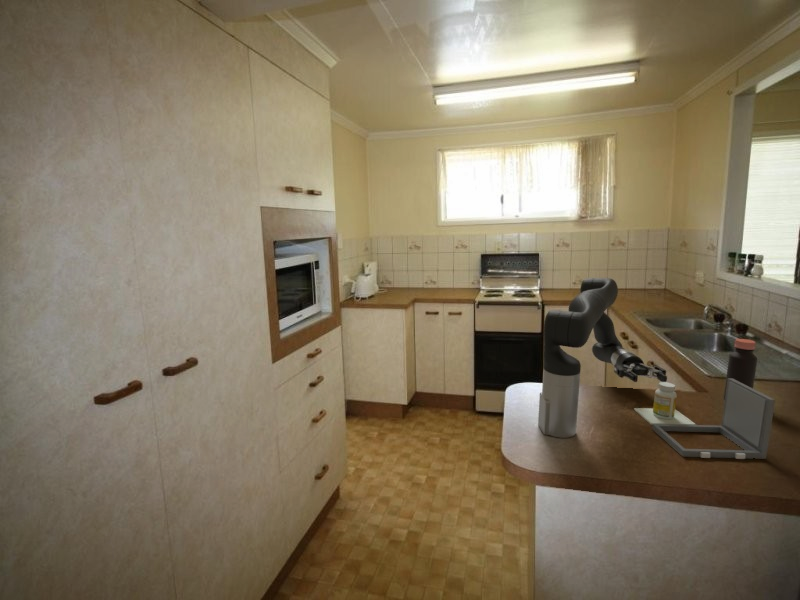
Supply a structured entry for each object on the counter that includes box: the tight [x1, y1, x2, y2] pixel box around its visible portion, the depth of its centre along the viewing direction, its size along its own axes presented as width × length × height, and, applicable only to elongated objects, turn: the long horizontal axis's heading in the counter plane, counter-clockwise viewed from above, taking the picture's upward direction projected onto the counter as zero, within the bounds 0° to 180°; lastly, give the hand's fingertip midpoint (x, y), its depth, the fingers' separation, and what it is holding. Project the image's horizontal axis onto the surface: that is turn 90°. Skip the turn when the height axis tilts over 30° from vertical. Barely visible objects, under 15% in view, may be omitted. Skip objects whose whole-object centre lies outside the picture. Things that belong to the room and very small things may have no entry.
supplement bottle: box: [652, 381, 678, 419], centre depth 122 cm, size 5×5×10 cm
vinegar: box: [723, 338, 758, 401], centre depth 131 cm, size 7×7×20 cm
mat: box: [633, 407, 697, 426], centre depth 122 cm, size 12×10×1 cm
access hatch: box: [651, 378, 776, 460], centre depth 107 cm, size 19×15×15 cm
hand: (650, 379), depth 130 cm, fingers open, 8 cm apart
